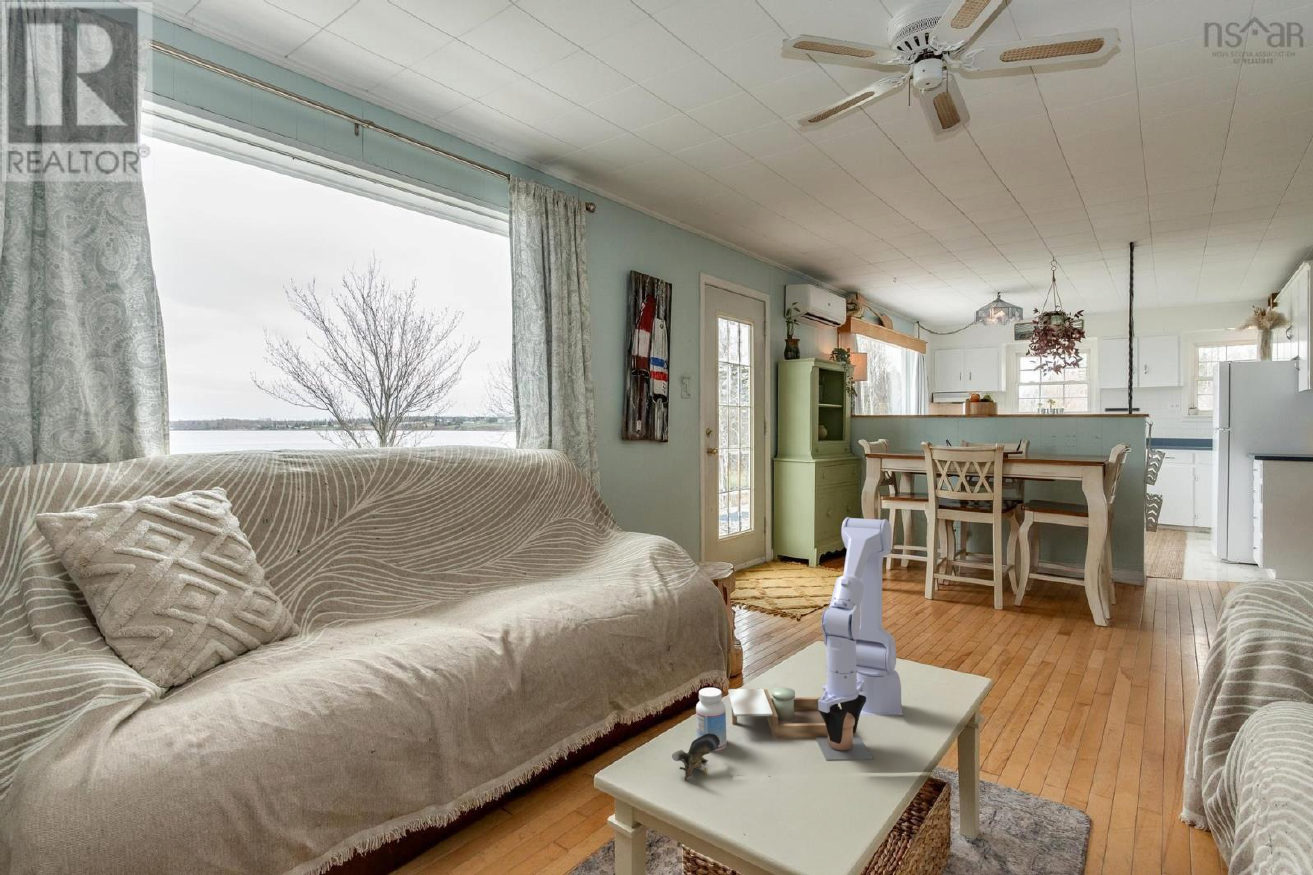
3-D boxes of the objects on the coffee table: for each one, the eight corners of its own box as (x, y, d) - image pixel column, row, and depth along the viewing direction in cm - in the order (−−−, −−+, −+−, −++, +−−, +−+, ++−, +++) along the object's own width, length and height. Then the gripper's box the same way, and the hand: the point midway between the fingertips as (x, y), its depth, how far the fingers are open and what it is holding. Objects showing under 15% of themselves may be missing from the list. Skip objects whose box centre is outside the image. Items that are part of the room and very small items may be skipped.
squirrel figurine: (714, 781, 117) (729, 749, 125) (691, 747, 117) (707, 718, 125) (683, 794, 120) (700, 762, 128) (661, 761, 121) (679, 732, 129)
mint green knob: (793, 711, 146) (792, 686, 146) (797, 720, 141) (797, 695, 141) (770, 711, 146) (770, 687, 146) (774, 721, 141) (774, 696, 141)
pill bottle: (729, 741, 134) (728, 687, 134) (722, 755, 128) (721, 699, 128) (701, 737, 136) (700, 684, 135) (693, 751, 130) (692, 696, 130)
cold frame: (833, 710, 147) (832, 686, 147) (851, 739, 133) (850, 713, 133) (728, 711, 148) (727, 688, 148) (735, 741, 134) (734, 715, 134)
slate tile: (859, 740, 133) (859, 736, 133) (873, 762, 124) (873, 758, 124) (815, 741, 133) (815, 737, 133) (826, 763, 124) (826, 759, 124)
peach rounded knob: (850, 736, 132) (851, 710, 131) (856, 751, 126) (857, 725, 126) (823, 735, 132) (824, 709, 131) (828, 750, 127) (829, 723, 126)
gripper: (842, 654, 136) (843, 718, 136) (803, 673, 126) (805, 742, 126) (873, 662, 131) (874, 728, 131) (836, 683, 121) (837, 755, 121)
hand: (842, 736), depth 128 cm, fingers closed on peach rounded knob, 5 cm apart
